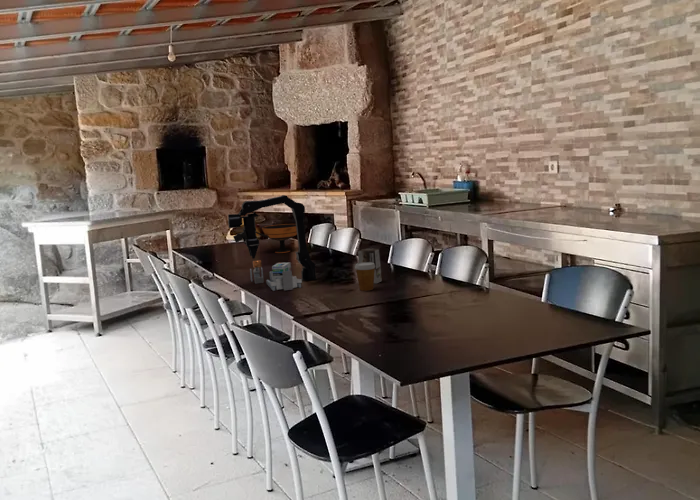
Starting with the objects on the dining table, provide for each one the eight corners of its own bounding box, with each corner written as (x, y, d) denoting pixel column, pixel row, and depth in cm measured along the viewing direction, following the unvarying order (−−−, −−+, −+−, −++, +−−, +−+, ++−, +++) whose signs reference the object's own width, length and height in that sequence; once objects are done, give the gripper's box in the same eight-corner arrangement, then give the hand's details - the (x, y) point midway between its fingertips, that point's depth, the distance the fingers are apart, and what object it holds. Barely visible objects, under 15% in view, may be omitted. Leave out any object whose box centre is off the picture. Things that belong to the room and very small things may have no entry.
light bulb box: (286, 287, 320) (284, 265, 319) (273, 287, 322) (271, 266, 320) (292, 282, 331) (290, 261, 329) (279, 283, 332) (278, 262, 331)
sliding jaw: (301, 285, 320) (299, 267, 319) (304, 288, 314) (302, 269, 312) (270, 289, 316) (269, 270, 315) (273, 291, 310) (271, 273, 308)
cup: (260, 257, 427) (257, 230, 424) (253, 252, 451) (251, 227, 448) (313, 251, 438) (311, 225, 435) (303, 247, 462) (302, 222, 459)
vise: (288, 276, 349) (287, 264, 348) (301, 287, 317) (300, 274, 316) (250, 280, 344) (249, 268, 343) (260, 292, 312) (258, 279, 311)
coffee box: (382, 281, 319) (380, 248, 317) (377, 283, 314) (375, 250, 311) (365, 280, 323) (363, 248, 321) (359, 283, 318) (357, 250, 315)
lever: (260, 274, 343) (259, 269, 345) (261, 264, 335) (260, 258, 337) (253, 275, 342) (252, 269, 344) (253, 265, 334) (252, 259, 336)
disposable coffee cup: (366, 286, 309) (364, 261, 307) (381, 288, 302) (379, 262, 300) (352, 290, 302) (350, 264, 301) (366, 292, 296) (365, 266, 294)
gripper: (231, 226, 332) (234, 256, 334) (234, 229, 314) (237, 261, 317) (253, 224, 335) (256, 254, 337) (258, 227, 317) (260, 259, 319)
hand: (252, 257), depth 327 cm, fingers open, 9 cm apart
